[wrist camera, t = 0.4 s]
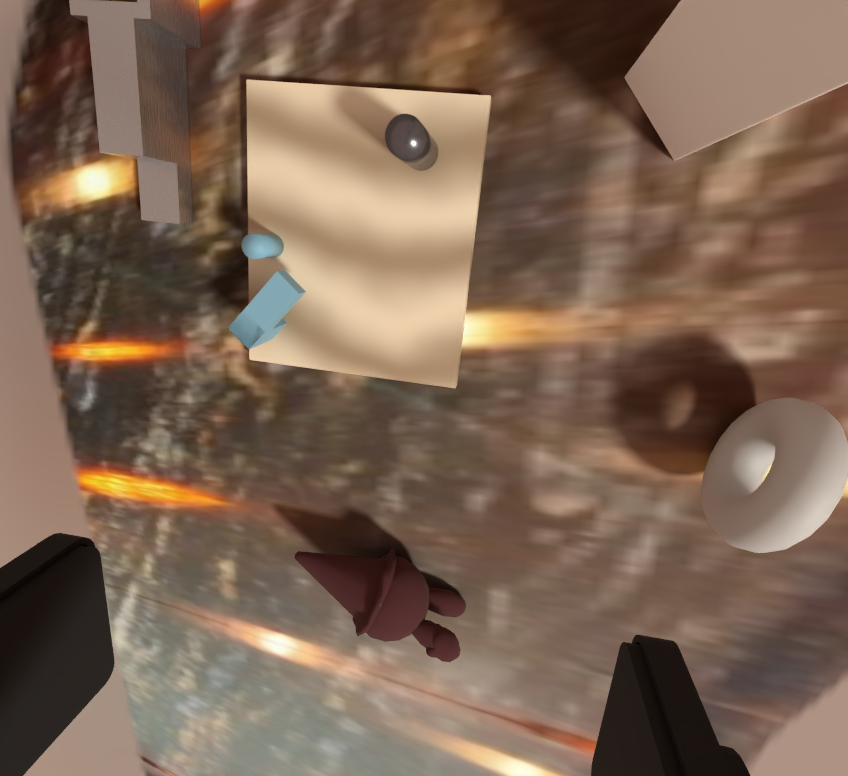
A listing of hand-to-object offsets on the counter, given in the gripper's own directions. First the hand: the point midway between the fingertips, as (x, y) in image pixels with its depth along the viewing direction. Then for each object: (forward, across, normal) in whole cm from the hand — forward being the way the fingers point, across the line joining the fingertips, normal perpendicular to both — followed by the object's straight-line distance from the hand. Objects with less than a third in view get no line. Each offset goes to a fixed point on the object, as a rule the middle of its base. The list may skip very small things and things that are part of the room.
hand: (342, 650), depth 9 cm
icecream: (+30, +5, +21) cm, 37 cm away
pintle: (+28, +4, -12) cm, 31 cm away
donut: (+30, -20, +6) cm, 36 cm away
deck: (+30, +8, -6) cm, 31 cm away
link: (+29, +23, -15) cm, 40 cm away
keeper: (+29, +15, -2) cm, 33 cm away
